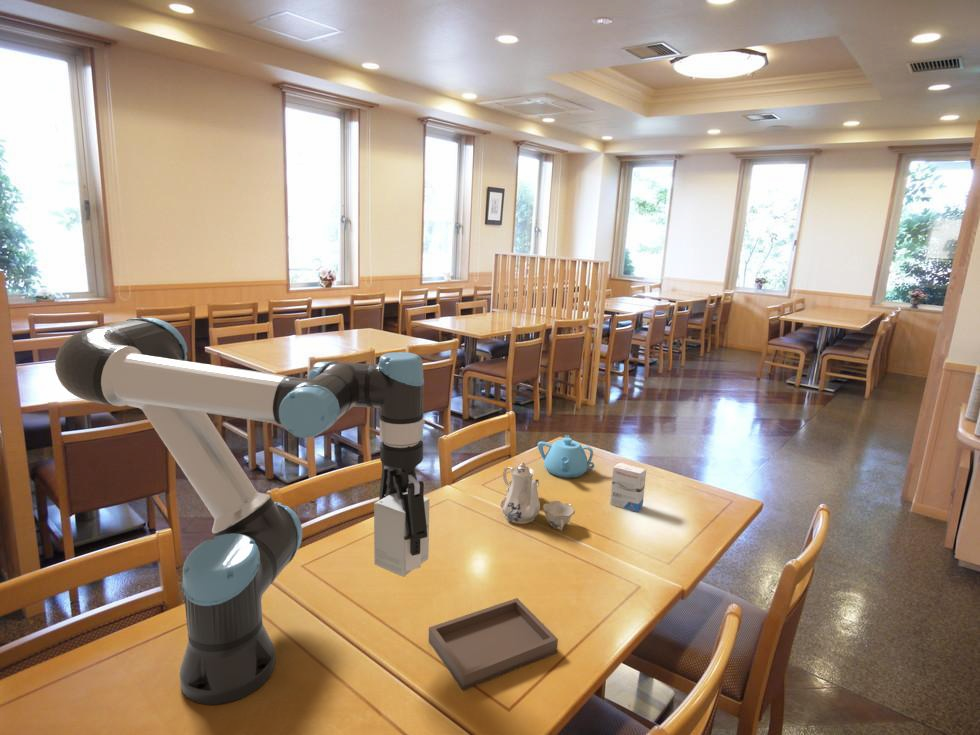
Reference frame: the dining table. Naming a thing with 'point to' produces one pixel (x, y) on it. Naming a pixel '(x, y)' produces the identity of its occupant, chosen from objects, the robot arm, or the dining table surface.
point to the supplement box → (394, 534)
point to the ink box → (628, 487)
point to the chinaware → (530, 500)
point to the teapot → (566, 458)
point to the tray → (491, 642)
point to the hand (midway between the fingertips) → (401, 554)
